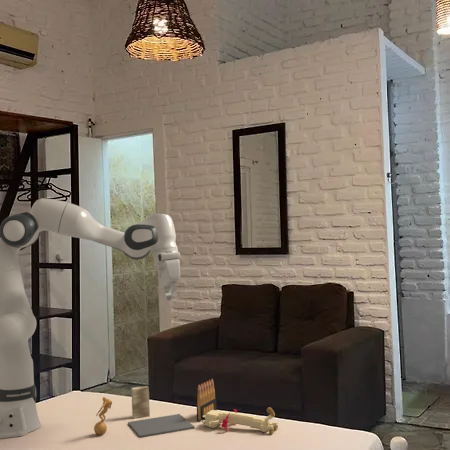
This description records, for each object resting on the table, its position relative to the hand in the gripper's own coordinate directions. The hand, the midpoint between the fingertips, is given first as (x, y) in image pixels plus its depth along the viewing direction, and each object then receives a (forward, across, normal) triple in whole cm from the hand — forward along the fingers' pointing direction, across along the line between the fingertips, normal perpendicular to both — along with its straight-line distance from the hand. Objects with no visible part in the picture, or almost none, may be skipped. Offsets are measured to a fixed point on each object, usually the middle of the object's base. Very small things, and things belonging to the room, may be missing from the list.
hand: (171, 298), depth 208 cm
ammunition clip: (+41, -8, +8) cm, 42 cm away
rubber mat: (+40, -4, -9) cm, 42 cm away
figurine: (+40, -3, -27) cm, 49 cm away
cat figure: (+45, +8, +14) cm, 48 cm away
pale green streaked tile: (+37, -18, -13) cm, 43 cm away
